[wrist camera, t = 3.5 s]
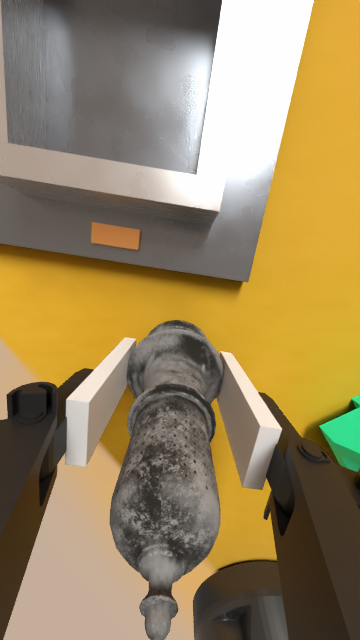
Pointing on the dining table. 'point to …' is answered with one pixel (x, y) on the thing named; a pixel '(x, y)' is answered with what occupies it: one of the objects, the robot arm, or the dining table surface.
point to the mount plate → (144, 127)
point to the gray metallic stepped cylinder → (168, 465)
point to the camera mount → (345, 437)
